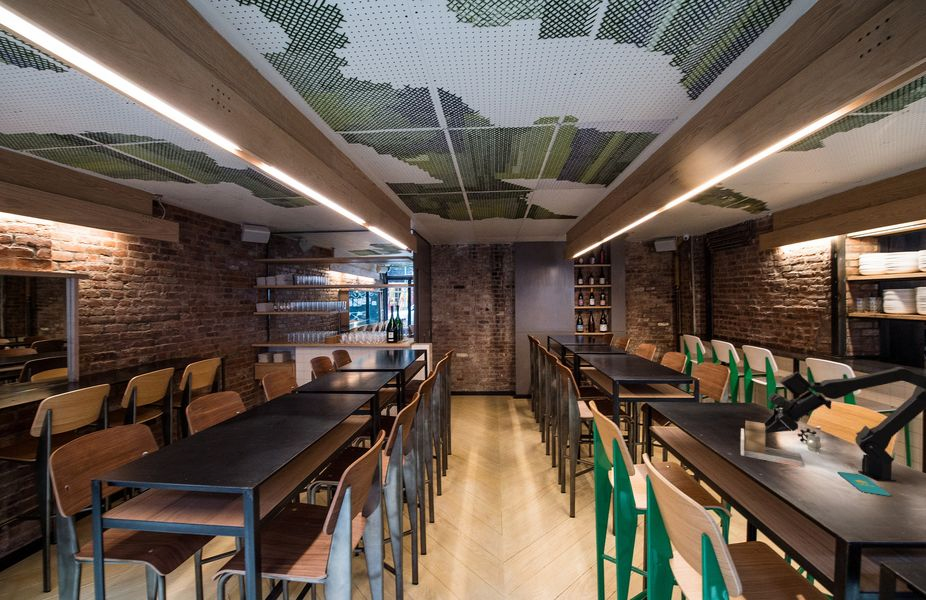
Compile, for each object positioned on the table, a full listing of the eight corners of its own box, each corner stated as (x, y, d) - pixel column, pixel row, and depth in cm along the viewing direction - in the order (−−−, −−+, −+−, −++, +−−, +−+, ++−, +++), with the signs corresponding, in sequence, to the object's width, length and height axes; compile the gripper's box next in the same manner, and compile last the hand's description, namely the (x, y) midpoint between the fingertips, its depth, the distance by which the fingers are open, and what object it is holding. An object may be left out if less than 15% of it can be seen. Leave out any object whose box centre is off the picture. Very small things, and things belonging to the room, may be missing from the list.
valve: (826, 456, 150) (818, 445, 160) (826, 438, 150) (818, 429, 160) (803, 452, 153) (797, 442, 163) (804, 435, 153) (797, 426, 163)
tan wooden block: (764, 450, 152) (764, 423, 152) (764, 456, 147) (765, 428, 147) (744, 446, 156) (745, 420, 156) (745, 452, 150) (745, 424, 150)
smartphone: (861, 491, 122) (836, 470, 136) (861, 493, 122) (836, 473, 136) (892, 496, 119) (863, 474, 133) (892, 498, 119) (863, 477, 133)
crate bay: (799, 455, 149) (800, 438, 149) (805, 469, 137) (805, 450, 137) (740, 444, 160) (741, 428, 160) (740, 456, 148) (741, 439, 148)
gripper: (782, 382, 154) (746, 405, 160) (787, 391, 138) (747, 416, 145) (808, 406, 149) (770, 428, 156) (816, 418, 134) (773, 443, 141)
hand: (765, 428), depth 149 cm, fingers open, 9 cm apart
